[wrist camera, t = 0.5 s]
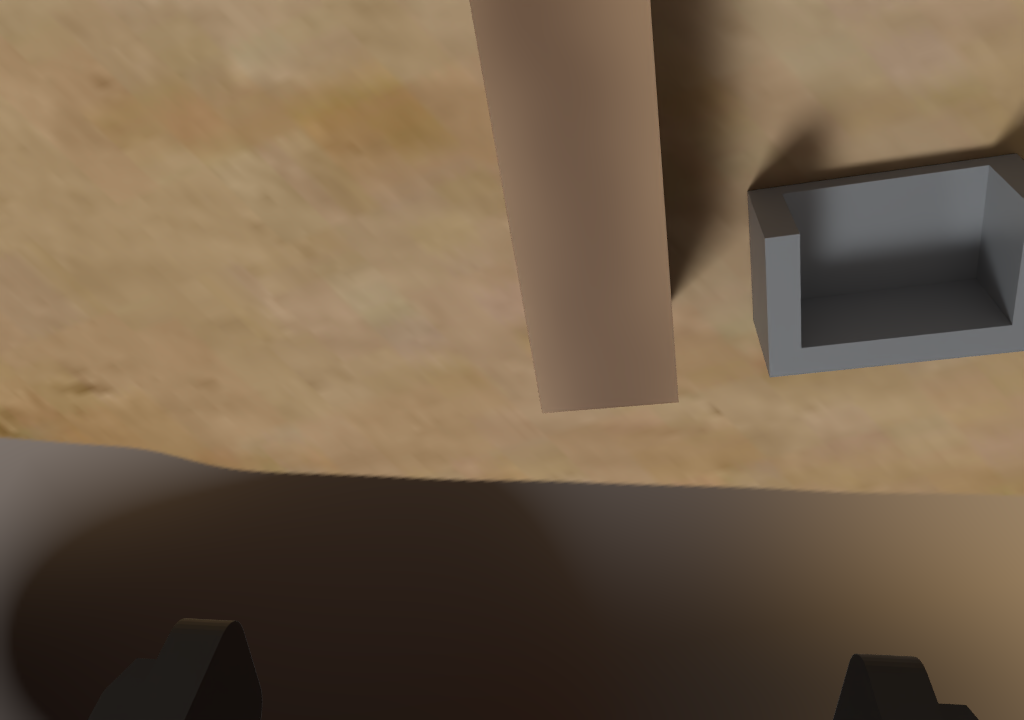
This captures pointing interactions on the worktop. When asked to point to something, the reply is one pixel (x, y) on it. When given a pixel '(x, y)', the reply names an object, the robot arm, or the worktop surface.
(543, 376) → the brown wooden bar
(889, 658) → the robot arm
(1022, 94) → the worktop surface
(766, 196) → the endcap
